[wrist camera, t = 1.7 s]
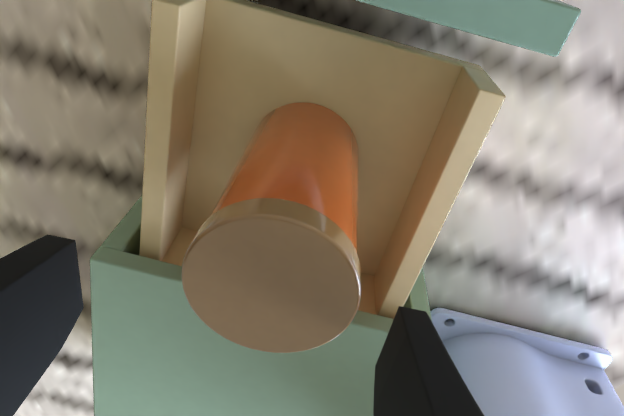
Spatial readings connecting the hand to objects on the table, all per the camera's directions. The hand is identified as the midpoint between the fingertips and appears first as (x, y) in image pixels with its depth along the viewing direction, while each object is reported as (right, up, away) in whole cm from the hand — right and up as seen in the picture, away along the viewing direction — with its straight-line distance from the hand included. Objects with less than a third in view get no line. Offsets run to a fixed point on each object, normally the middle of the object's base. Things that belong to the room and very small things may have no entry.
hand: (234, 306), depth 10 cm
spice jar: (+1, +4, +7) cm, 8 cm away
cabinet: (-1, -4, +14) cm, 15 cm away
